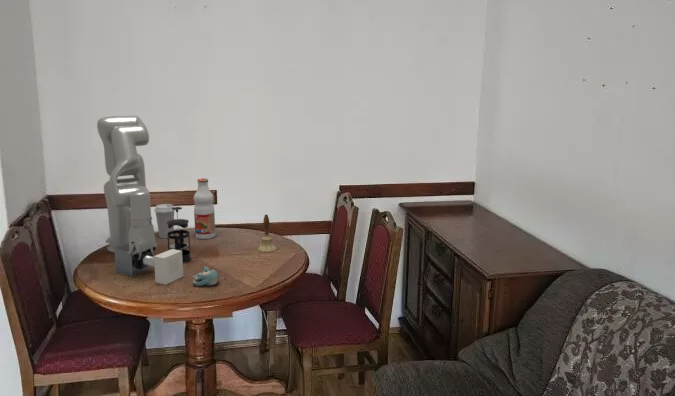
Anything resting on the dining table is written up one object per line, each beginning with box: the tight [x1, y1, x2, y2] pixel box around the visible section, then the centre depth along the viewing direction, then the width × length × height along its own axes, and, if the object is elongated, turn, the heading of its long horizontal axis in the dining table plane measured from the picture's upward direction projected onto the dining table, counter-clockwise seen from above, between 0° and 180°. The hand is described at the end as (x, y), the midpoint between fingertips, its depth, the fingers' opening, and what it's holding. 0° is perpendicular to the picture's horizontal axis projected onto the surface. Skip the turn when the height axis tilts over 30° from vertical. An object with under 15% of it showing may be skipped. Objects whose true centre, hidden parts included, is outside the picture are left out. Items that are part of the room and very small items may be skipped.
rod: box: [134, 251, 155, 268], centre depth 240 cm, size 19×5×5 cm, turn 64°
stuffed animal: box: [192, 265, 219, 287], centre depth 231 cm, size 11×7×12 cm
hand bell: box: [257, 214, 277, 253], centre depth 270 cm, size 8×8×16 cm
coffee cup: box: [154, 203, 176, 239], centre depth 289 cm, size 10×10×15 cm
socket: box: [153, 249, 184, 286], centre depth 234 cm, size 5×10×10 cm, turn 154°
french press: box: [167, 206, 192, 264], centre depth 255 cm, size 12×9×23 cm
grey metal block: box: [114, 244, 149, 277], centre depth 242 cm, size 9×8×10 cm
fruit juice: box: [193, 177, 216, 240], centre depth 288 cm, size 9×9×28 cm
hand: (144, 266), depth 240 cm, fingers closed on rod, 5 cm apart
